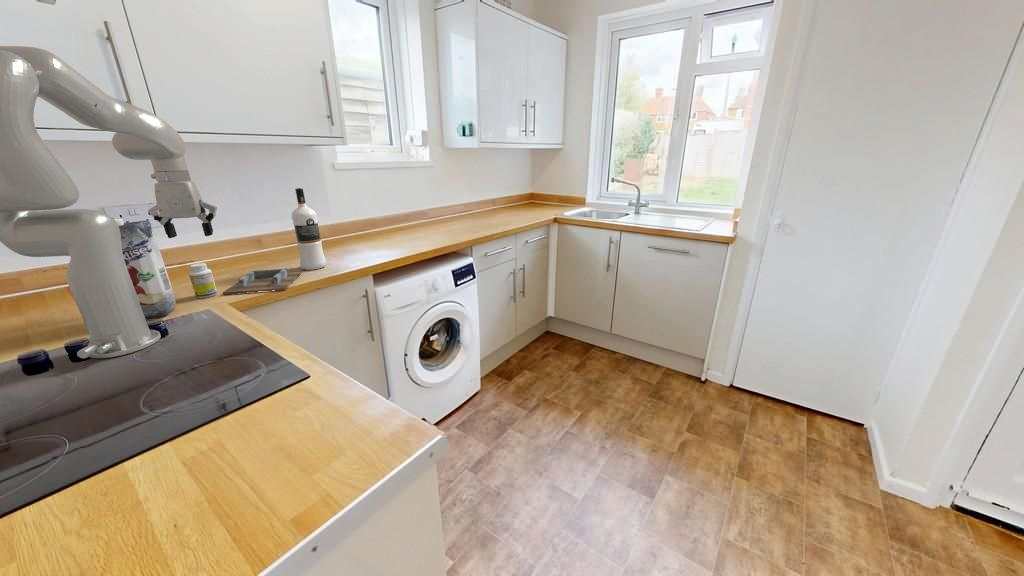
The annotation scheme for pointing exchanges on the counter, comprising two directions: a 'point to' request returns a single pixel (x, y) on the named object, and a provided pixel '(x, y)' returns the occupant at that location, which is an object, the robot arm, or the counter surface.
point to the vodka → (307, 235)
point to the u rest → (263, 281)
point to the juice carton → (146, 269)
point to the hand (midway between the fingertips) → (191, 236)
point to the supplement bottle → (202, 281)
